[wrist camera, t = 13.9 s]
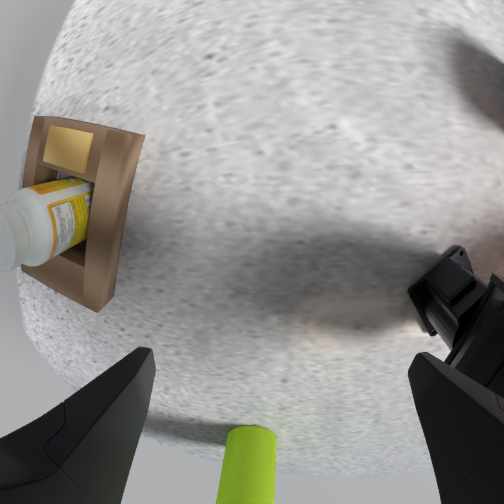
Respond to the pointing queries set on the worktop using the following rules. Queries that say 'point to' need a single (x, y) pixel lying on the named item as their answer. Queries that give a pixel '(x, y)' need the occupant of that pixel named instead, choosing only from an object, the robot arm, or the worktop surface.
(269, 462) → the soap dispenser
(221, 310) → the worktop surface
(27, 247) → the supplement bottle
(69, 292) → the socket block
